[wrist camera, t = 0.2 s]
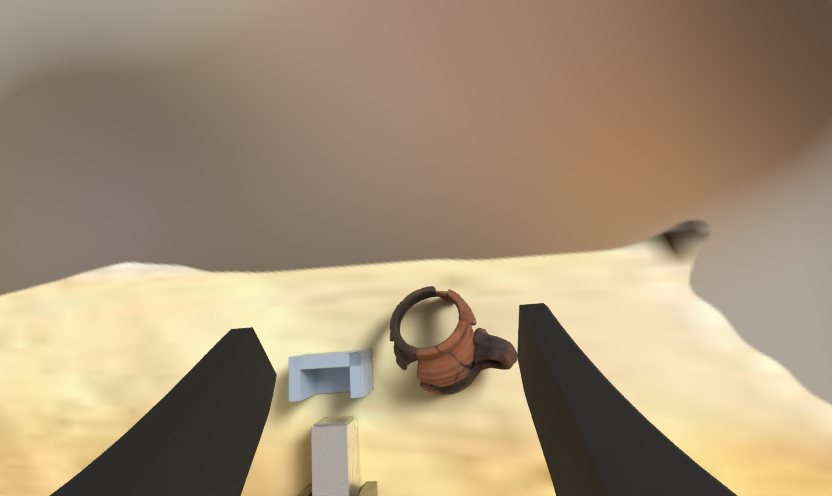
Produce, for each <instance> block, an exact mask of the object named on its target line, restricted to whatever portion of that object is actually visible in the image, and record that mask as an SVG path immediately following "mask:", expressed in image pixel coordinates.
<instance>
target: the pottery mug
mask: <svg viewBox="0 0 832 496" xmlns="http://www.w3.org/2000/svg"><path fill="white" fill-rule="evenodd" d="M431 297H440V298H442V299H443V300H445V301H447V302H453V303H454V304H455V305H456V306H457V308H458V312H459V322H458V325H457V327H456V329H455V330H454V332H453V333H452V334H451V336H450V337H449V338H447V339H446V340H445V341H444V342H442V343H440V344H438V345H436V346H433V347H429V348H415V347H413V346H411V345H409V344H407V343H406V342H405V341H404V340H403V339H402V337H401V334H400V323H401V320H402V318H403V316H404V315H405V313H406V312H407V311H408V310H409V309H410V308H411V307H412V306H413V305H415V304H416V303H418V302H419V301H421V300H424V299H427V298H431ZM471 325H476V319H475V317H474V315H473V313H472V311H471V309H470V307H469V306H468V305H467V303H466V302H465V301H464V300H463V299H462V298H461V297H460V295H459V294H457V293H456V292H454V291H452V290H450V289H449V290H448V291H447V292H446V291H436V289H435V288H434V287H433V286H429V287H425V288H422V289H419V290H416V291H414V292H412V293H411V294H409V295H408V296H407V297H406V298H404V300H403V301H401V302H400V304H399V305H397V307H396V309H395V311H394V312H393V315H392V318H391V321H390V330H391V332H390V341H394V353H395V356H396V362H397V364H398V365H399V366H400V367H401V368H402V369H403V370H406V369H407V365H409V364H410V363H412V362H414V361H416V360H418V374H417V377H418V378H419V379H420V380H421V381H422V382H421V383H420V386H421V387H422V388H423V389H425V390H427V391H430V392H434V393H438V394H453V393H456V392H459V391H461V390H463V389H465V388H466V387H468V386H469V385H470V384H471V383H472V382H473V381H474V379H475V378H476V376H477V375H478V374H479V372H480V371H481V370H484V369H487V368H496V369H510V368H511V367H512V366H513V364H514V363H516V361H517V357H518V355H517V352H516V351H515V348H514V346H513V345H512V344H511V343H510V342H508V341H506V340H504V339H502V338H499V337H497V336H492V335H489V334H488V333H487V332H486V330H485V329H482V328H478V329H476V330H475V332H474V333H473V329H472V326H471ZM472 362H473V363H472ZM471 363H472V367H467V365H470V364H471ZM429 384H430V385H429Z"/></svg>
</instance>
